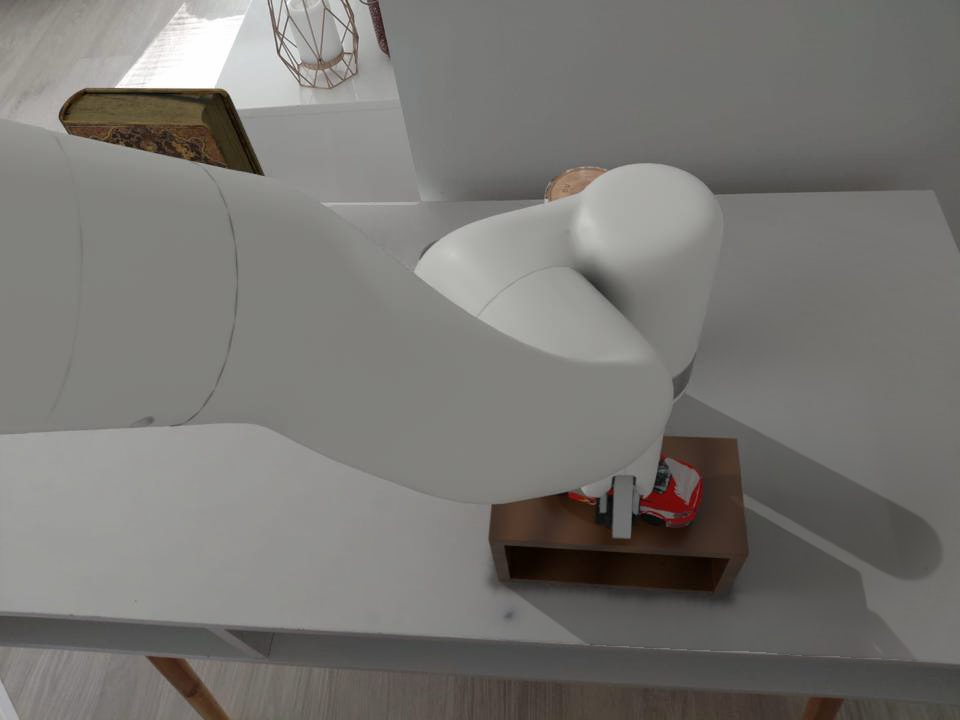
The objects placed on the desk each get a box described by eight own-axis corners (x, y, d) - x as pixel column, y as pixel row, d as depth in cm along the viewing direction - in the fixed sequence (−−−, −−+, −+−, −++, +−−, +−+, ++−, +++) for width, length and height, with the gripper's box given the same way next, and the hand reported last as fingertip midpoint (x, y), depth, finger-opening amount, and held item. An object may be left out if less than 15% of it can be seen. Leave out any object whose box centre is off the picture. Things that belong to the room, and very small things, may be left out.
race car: (525, 488, 61) (523, 465, 58) (548, 432, 64) (547, 408, 61) (688, 542, 58) (695, 521, 54) (705, 481, 60) (712, 457, 57)
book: (164, 290, 93) (50, 123, 73) (180, 257, 96) (75, 87, 76) (290, 297, 90) (209, 125, 70) (302, 262, 93) (228, 88, 73)
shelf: (498, 581, 68) (488, 538, 60) (506, 480, 74) (498, 429, 66) (726, 596, 66) (749, 554, 57) (717, 490, 71) (737, 438, 63)
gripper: (572, 246, 51) (571, 388, 66) (563, 478, 42) (564, 585, 56) (686, 246, 50) (659, 391, 65) (704, 485, 41) (667, 591, 55)
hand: (615, 480), depth 60 cm, fingers closed on race car, 6 cm apart
